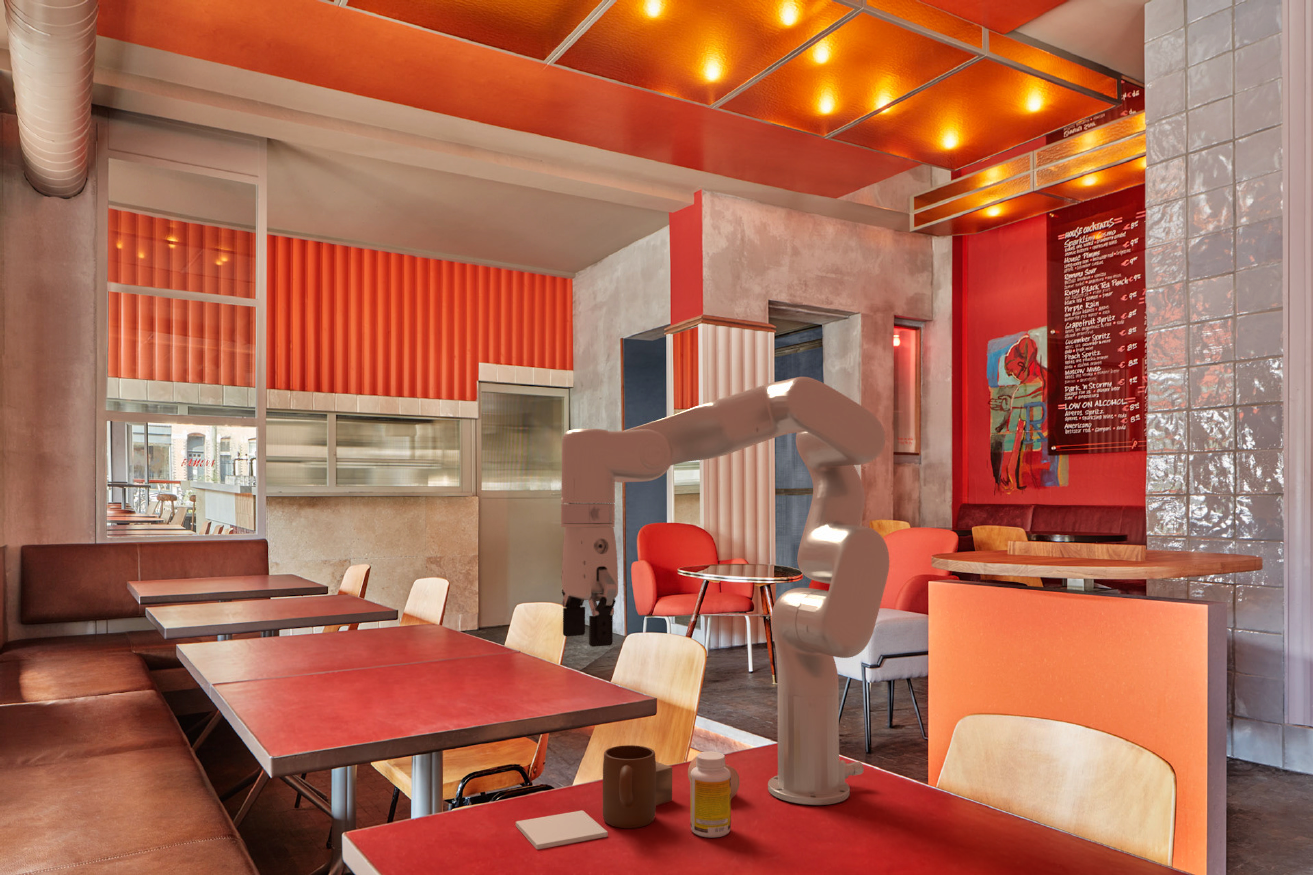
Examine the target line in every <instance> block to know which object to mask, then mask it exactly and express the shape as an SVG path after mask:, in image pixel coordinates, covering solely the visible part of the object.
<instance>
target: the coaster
mask: <svg viewBox="0 0 1313 875" xmlns="http://www.w3.org/2000/svg"><path fill="white" fill-rule="evenodd" d="M515 827H516V828H517V829H518V830H519V831H520V832H521V834H522V835H523V836H524V837H525V838H526V839H527V840H528V841H529V843H531V845H532V846H533V847H534V848H535V849H536V850H541V849H542V850H543V849H547V848H552V847H558V846H564V845H569V844H574V843H580V842H586V841H591V840H596V839H602V838H607V837H608V831H607V830H606V828H604V827H602V825H600V824H599V823H598V822H597V821H595V819H593V817H591V816H590V815H589V814H588V813H586V812H585V811H584V810H576V811H572V812H564V813H560V814H552V815H547V816H541V817H535V818H529V819H522V820H517V821H515Z"/></svg>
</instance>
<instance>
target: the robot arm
mask: <svg viewBox="0 0 1313 875" xmlns="http://www.w3.org/2000/svg"><path fill="white" fill-rule="evenodd" d="M789 434H796V435H795V444H796V449H797V452H798V454H799V457H800V458H801V460H802V462H803V463H804V465H805V467H806V468H807V471H808V472H809V475H810V478H811V481H812V487H813V489H812V490H813V492H812V498H811V503H810V508H809V510H808V515H807V517H806V522H805V524H804V528H803V532H802V536H801V539H800V543H799V546H798V551H797V555H796V556H797V560H796V561H797V566H798V569H799V571H800V572H801V573H802V575H803V576H805V577H806V578H808V579H809V580H813V581H814V582H819V583H822V584H823V583H824V584H829V589H828V590H825V589H818V588H810V587H796V588H792V589H788V590H787V591H785V592H783V593H782V594H781V595H780V596H779V597H778V598H777V600H775V602H774V605H773V608H772V611H771V618H770V619H771V620H770V621H771V631H772V636H773V642H774V646H775V648H774V649H775V653H776V654H775V656H776V666H777V667H776V668H777V775H775V776H773V777H771V778H770V779H769V780H768V782H767V790H768V792H769V793H770V794H771V795H772V796H773V797H775V798H778V799H779V800H781V801H782V800H783V801H786V802H789V803H791V804H792V803H793V804H799V805H807V806H808V805H810V806H824V805H826V806H827V805H835V804H838V803H841V802H844V801H845V800H846V799H848V798H849V796H850V793H851V791H850V785H849V784H848V783H847V782H846V781H845V780H847V779H848V778H849V776H858V775H862V774H863V773H864V770H865V769H864V766H863V764H862V762H861V761H855V762H854V761H853V762H848V763H847V762H846V761H845V760H844V759H842V760H841V759H840V723H839V721H840V718H839V716H840V715H839V714H840V712H839V711H840V710H839V709H840V708H839V707H840V706H839V705H840V704H839V703H840V702H839V701H840V700H839V698H840V697H839V693H840V692H839V691H840V689H839V686H840V685H839V684H840V683H839V673H838V668H837V664H836V661H835V657H836V658H841V659H848V658H849V659H850V658H853V657H856V656H858V655H859V654H861V653H862V652H863V651H864V650H865V648H866V647H867V646H868V644H869V643H870V641H871V638H872V637H873V633H874V630H875V626H876V623H877V619H878V616H879V612H880V608H881V604H882V599H883V596H884V592H885V588H886V584H887V581H888V576H889V570H890V552H889V548H888V545H887V543H886V540H885V539H884V538H883V536H882V535H881V534H880V533H879V532H878V531H877V530H876V529H874V528H872V527H869V526H866V525H862V519H863V516H864V515H863V514H864V510H865V504H866V492H865V488H864V484H863V482H862V480H861V477H860V474H859V473H858V471H857V469H856V467H855V466H860V465H861V466H862V465H866V464H869V463H871V462H873V461H875V460H876V459H877V458H879V457H880V455H881V454H882V453H883V451H884V448H885V444H886V431H885V429H884V427H883V424H882V422H881V421H880V419H879V418H878V417H877V416H876V415H875V414H874V413H873V412H872V411H871V410H869V409H867V408H865V407H864V406H863V405H860V403H858V402H856V401H854V400H853V399H851V398H850V397H848V396H847V395H845V394H842V392H840V391H838V390H836V389H835V388H833V387H831V386H830V385H828V384H826V383H823V382H822V381H820V380H817V379H816V378H812V377H809V376H798V377H794V378H787V379H785V380H780V381H774V382H770V383H766V384H764V385H760V386H757V387H754V388H750V389H747V390H744V391H741V392H738V393H735V394H732V395H728V396H725V397H722V398H719V399H715V400H712V401H709V402H708V401H707V402H705V403H702V404H700V405H699V404H698V405H697V406H693V407H691V408H689V409H685V410H684V411H681V412H679V413H675V414H673V415H669V416H666V417H664V418H661V419H657V420H655V421H654V420H652V421H650V422H648V423H645V424H642V425H638V426H634V427H630V428H629V429H625V430H615V431H614V430H613V431H612V430H610V431H609V430H607V429H602V428H574V429H571V430H567V431H566V432H565V433H564V434H563V436H562V440H561V490H560V491H561V493H560V494H561V497H560V499H561V500H560V502H561V505H560V506H561V511H560V513H561V514H560V528H564V535H563V546H562V547H563V548H562V562H561V564H562V565H561V585H562V590H561V594H562V596H563V599H562V607H563V608H562V635H563V636H564V637H575V636H576V637H579V636H584V635H585V633H586V607H585V606H584V602H585V601H588V604H589V607H590V612H591V615H589V616H588V617H589V618H588V619H589V620H588V621H589V623H588V625H589V626H588V645H589V646H590V647H596V648H597V647H607V646H612V645H613V637H614V636H613V635H614V634H613V632H614V631H613V630H614V629H613V626H614V623H613V622H614V621H613V620H614V619H613V618H614V615H615V614H614V613H615V608H614V606H615V604H616V598H617V597H618V595H619V573H618V572H619V570H618V553H617V542H616V535H615V530H614V528H615V523H616V522H615V520H616V518H615V517H616V514H615V509H616V508H615V507H616V506H615V501H616V495H615V494H616V483H630V482H631V483H639V482H640V483H641V482H642V483H643V482H650V481H653V480H656V479H659V478H660V477H662V476H663V475H664V474H666V473H667V472H668V470H669V469H670V468H671V466H675V465H679V464H683V463H689V462H694V461H695V462H696V461H697V462H698V461H705V460H706V461H707V460H711V459H715V458H719V457H724V456H727V455H731V454H732V453H735V452H738V451H741V450H743V449H745V448H749V447H752V446H755V445H757V444H761V443H763V442H767V441H769V440H772V439H775V438H777V437H781V436H784V435H789ZM597 602H598V603H597Z"/></svg>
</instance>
